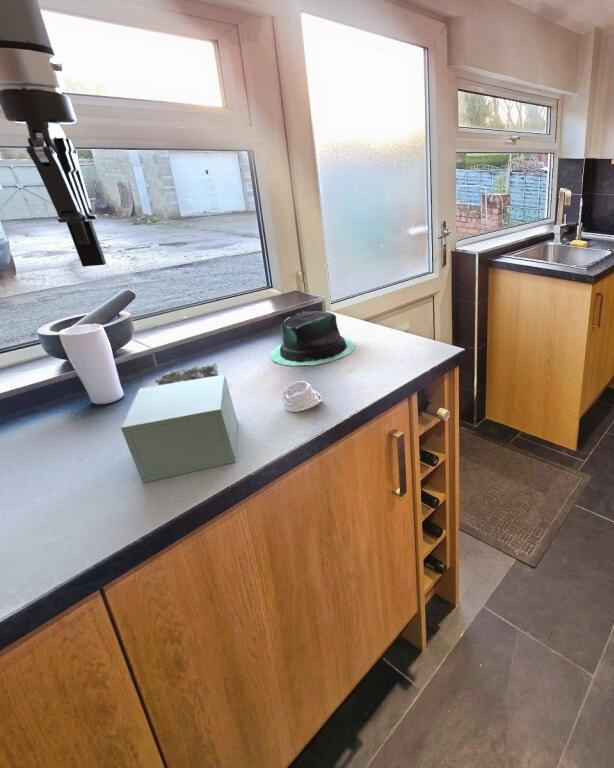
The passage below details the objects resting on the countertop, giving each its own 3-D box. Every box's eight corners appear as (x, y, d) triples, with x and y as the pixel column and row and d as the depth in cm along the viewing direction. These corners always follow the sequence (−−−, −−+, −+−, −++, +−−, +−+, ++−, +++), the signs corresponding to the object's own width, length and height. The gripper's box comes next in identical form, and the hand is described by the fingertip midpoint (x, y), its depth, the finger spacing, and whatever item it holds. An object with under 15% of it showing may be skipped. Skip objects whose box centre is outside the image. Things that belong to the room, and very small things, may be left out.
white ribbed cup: (330, 406, 99) (329, 383, 97) (303, 418, 93) (301, 394, 91) (302, 395, 102) (300, 373, 100) (273, 406, 96) (271, 383, 94)
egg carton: (158, 399, 100) (151, 381, 98) (168, 384, 107) (161, 367, 105) (217, 391, 103) (211, 373, 101) (223, 377, 110) (218, 360, 108)
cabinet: (157, 437, 86) (139, 388, 82) (237, 421, 91) (224, 374, 87) (142, 483, 74) (120, 427, 70) (236, 462, 79) (220, 409, 75)
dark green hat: (324, 367, 112) (248, 362, 116) (365, 374, 130) (297, 370, 134) (330, 301, 113) (254, 299, 117) (370, 318, 131) (303, 316, 135)
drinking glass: (125, 389, 104) (100, 321, 98) (132, 399, 100) (105, 328, 94) (85, 399, 100) (55, 329, 94) (90, 410, 96) (59, 337, 89)
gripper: (51, 86, 64) (114, 270, 74) (79, 96, 74) (131, 255, 84) (-26, 83, 61) (50, 275, 71) (14, 94, 71) (76, 259, 81)
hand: (94, 264), depth 77 cm, fingers closed
